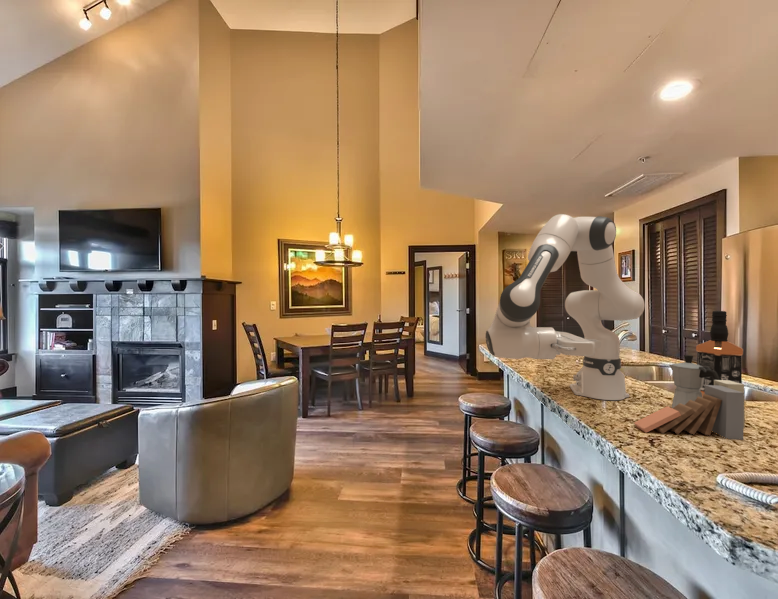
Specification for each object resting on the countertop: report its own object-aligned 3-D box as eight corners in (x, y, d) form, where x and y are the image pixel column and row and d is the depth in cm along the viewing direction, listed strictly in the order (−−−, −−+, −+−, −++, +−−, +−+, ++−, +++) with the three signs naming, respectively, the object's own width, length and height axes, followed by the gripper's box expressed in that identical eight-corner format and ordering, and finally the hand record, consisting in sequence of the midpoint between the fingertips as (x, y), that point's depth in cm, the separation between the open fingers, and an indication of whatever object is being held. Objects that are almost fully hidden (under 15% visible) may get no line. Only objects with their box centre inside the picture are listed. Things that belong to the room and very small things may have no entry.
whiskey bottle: (746, 409, 124) (747, 311, 123) (716, 408, 124) (717, 311, 124) (719, 400, 134) (720, 310, 134) (691, 400, 134) (692, 310, 134)
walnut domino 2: (674, 431, 100) (702, 404, 99) (663, 424, 105) (690, 399, 104) (677, 434, 100) (706, 408, 99) (666, 428, 105) (693, 402, 104)
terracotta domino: (643, 428, 101) (678, 411, 100) (633, 422, 106) (667, 406, 105) (645, 432, 101) (681, 415, 100) (636, 426, 106) (669, 409, 105)
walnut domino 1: (659, 430, 100) (692, 408, 99) (649, 423, 105) (680, 403, 104) (662, 433, 100) (695, 412, 99) (651, 427, 105) (682, 406, 104)
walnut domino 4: (705, 434, 99) (717, 398, 98) (692, 428, 104) (703, 393, 103) (709, 436, 99) (722, 400, 98) (696, 429, 104) (708, 395, 103)
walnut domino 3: (689, 432, 99) (711, 401, 99) (677, 426, 104) (698, 396, 104) (693, 435, 99) (715, 403, 99) (681, 428, 104) (702, 398, 104)
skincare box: (745, 428, 105) (746, 384, 105) (727, 427, 106) (727, 383, 106) (730, 421, 111) (730, 379, 111) (712, 419, 112) (713, 379, 112)
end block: (704, 428, 105) (704, 385, 105) (720, 428, 104) (720, 385, 104) (726, 438, 97) (726, 392, 97) (743, 439, 96) (743, 392, 96)
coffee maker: (658, 406, 126) (659, 352, 126) (677, 404, 128) (678, 351, 128) (707, 420, 111) (708, 359, 111) (728, 418, 114) (728, 358, 114)
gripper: (558, 336, 94) (617, 337, 93) (536, 327, 115) (584, 327, 113) (558, 361, 95) (616, 362, 93) (536, 348, 115) (584, 348, 113)
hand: (599, 343), depth 103 cm, fingers closed
